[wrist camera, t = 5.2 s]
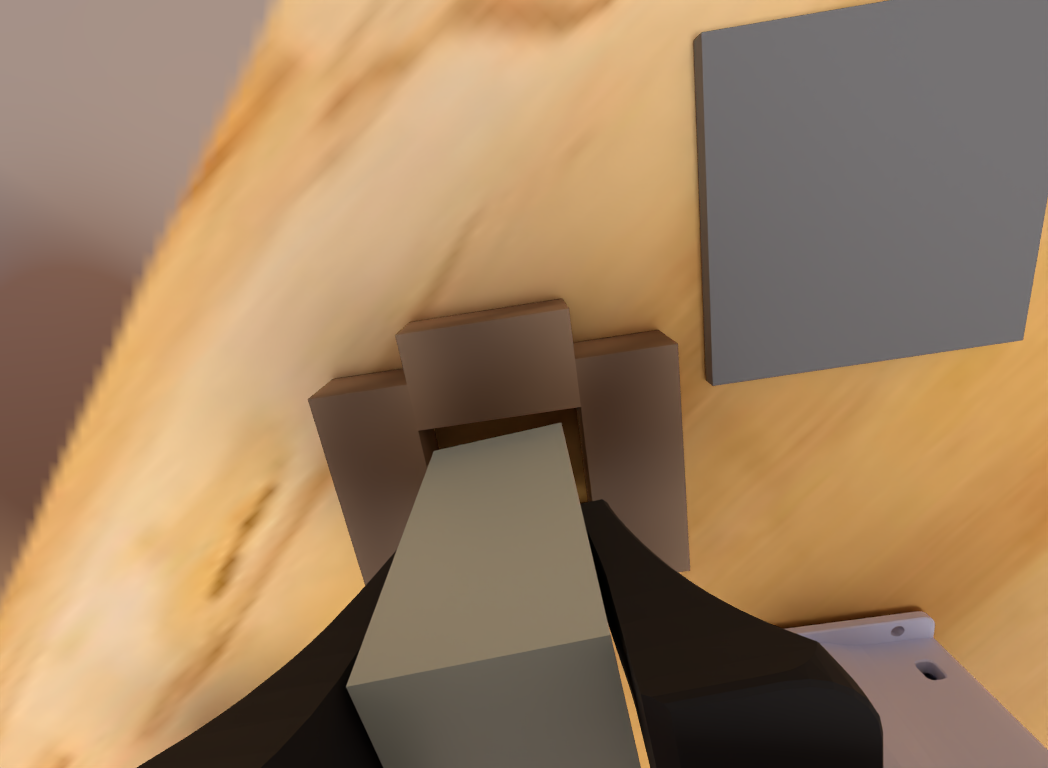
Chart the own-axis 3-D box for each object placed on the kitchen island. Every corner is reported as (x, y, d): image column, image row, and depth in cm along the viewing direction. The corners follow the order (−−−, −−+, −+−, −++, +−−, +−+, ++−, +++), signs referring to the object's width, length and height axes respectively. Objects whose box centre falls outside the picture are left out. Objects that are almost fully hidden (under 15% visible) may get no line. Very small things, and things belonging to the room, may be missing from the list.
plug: (561, 422, 15) (610, 634, 7) (586, 532, 16) (651, 816, 8) (433, 450, 15) (345, 686, 7) (468, 557, 16) (423, 856, 8)
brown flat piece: (655, 284, 15) (674, 291, 14) (674, 567, 19) (692, 605, 17) (319, 335, 16) (292, 350, 14) (397, 605, 19) (384, 646, 17)
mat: (1062, -22, 13) (1087, -34, 13) (1005, 336, 16) (1023, 339, 16) (693, 40, 13) (701, 32, 13) (706, 380, 16) (713, 385, 16)
